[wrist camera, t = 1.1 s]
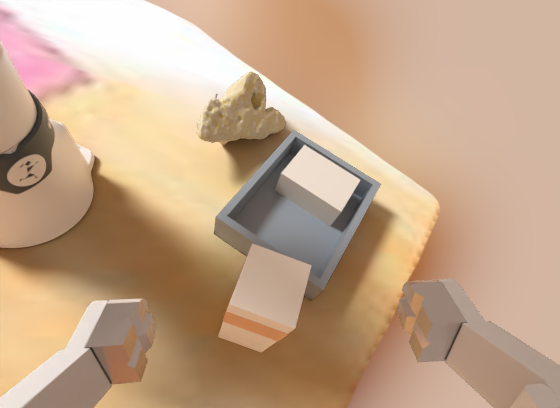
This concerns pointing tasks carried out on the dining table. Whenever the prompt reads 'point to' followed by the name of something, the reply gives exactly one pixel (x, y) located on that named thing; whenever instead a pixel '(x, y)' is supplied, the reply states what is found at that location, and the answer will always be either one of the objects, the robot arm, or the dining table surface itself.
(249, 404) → the dining table surface
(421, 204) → the dining table surface
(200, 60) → the dining table surface
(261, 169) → the tote
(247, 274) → the juice carton
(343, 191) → the white rectangular block
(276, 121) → the beige rock
